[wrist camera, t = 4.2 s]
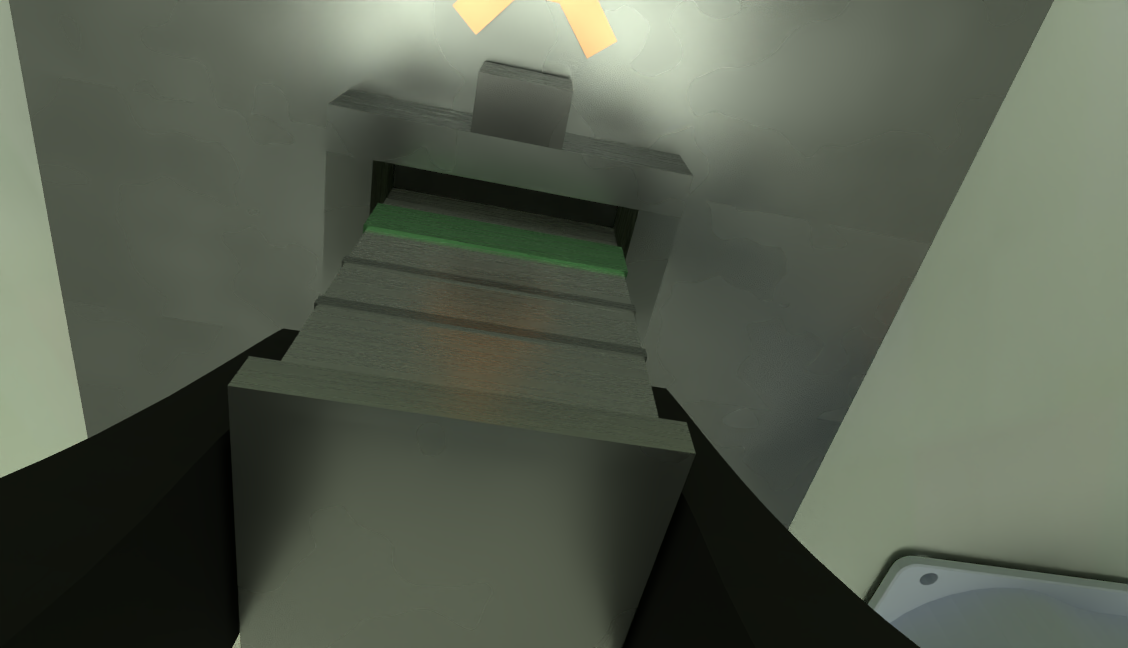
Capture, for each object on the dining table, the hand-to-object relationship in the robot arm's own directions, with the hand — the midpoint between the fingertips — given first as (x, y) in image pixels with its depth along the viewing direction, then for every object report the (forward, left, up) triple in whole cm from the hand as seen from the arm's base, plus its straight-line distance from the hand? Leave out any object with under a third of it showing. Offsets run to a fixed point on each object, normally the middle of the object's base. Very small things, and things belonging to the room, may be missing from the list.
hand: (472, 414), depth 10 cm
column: (0, 0, -3) cm, 3 cm away
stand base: (0, 0, -6) cm, 6 cm away
